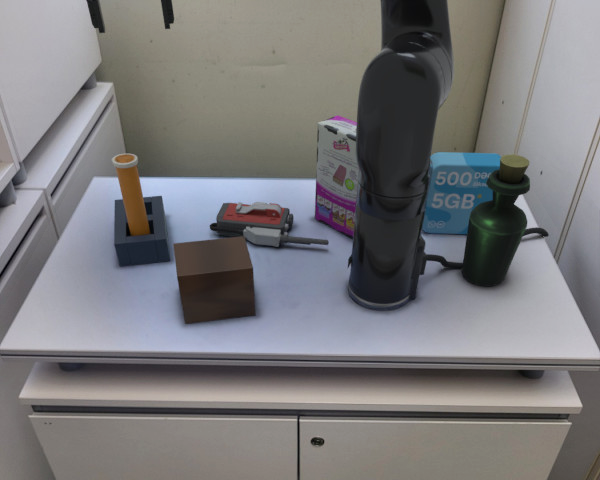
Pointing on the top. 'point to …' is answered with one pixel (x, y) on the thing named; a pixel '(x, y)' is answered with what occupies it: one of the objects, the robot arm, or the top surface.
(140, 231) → the test tube
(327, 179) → the candy bar box
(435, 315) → the top surface
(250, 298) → the stand
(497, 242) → the potion bottle
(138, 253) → the rack
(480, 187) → the data package
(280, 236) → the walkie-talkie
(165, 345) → the top surface
